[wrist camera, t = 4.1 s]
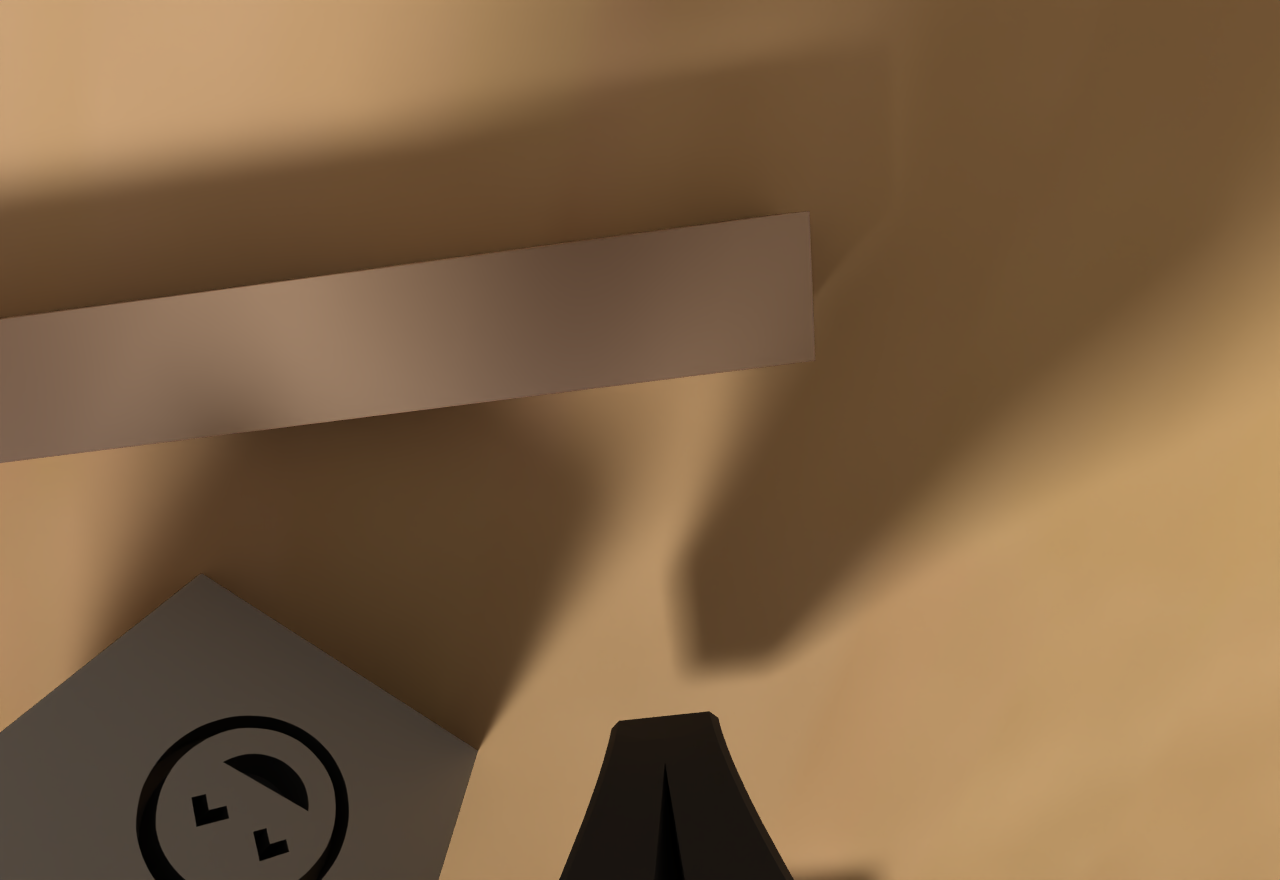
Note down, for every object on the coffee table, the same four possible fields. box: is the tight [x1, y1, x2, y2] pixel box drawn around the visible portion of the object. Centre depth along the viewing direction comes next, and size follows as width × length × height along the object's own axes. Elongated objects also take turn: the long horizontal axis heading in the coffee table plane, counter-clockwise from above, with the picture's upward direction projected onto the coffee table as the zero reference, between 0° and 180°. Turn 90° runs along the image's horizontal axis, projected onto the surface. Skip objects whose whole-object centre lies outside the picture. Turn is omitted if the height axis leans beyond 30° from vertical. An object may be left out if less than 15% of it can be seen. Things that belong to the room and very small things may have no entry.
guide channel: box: [0, 211, 815, 463], centre depth 9 cm, size 18×14×3 cm
